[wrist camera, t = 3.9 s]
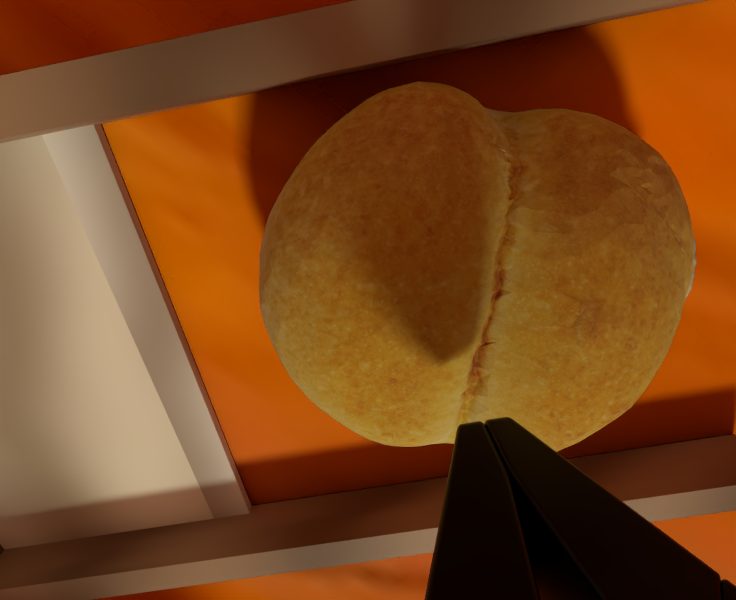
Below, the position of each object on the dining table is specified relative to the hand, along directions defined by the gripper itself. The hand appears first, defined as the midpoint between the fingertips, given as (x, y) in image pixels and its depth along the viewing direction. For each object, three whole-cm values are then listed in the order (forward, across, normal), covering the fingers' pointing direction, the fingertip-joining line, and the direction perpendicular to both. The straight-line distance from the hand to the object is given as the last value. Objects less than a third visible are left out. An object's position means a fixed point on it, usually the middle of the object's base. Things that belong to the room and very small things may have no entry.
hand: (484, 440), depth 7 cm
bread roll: (+6, +3, 0) cm, 6 cm away
